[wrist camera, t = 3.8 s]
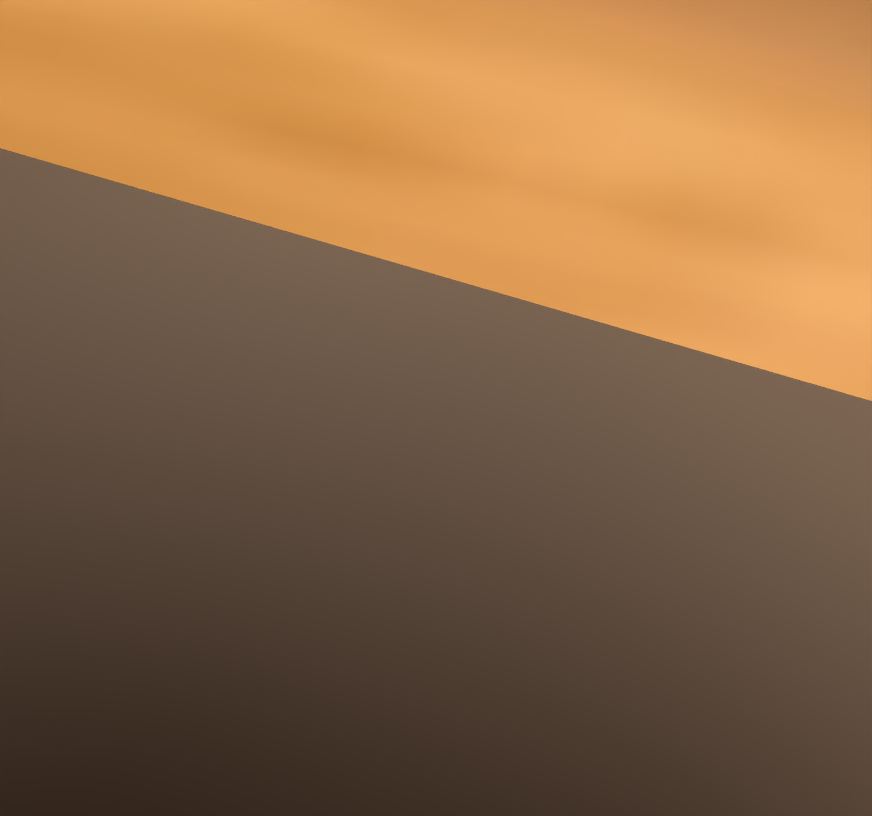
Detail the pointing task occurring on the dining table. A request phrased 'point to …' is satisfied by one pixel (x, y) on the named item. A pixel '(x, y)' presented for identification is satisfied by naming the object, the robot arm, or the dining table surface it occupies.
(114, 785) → the walnut block
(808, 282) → the dining table surface
